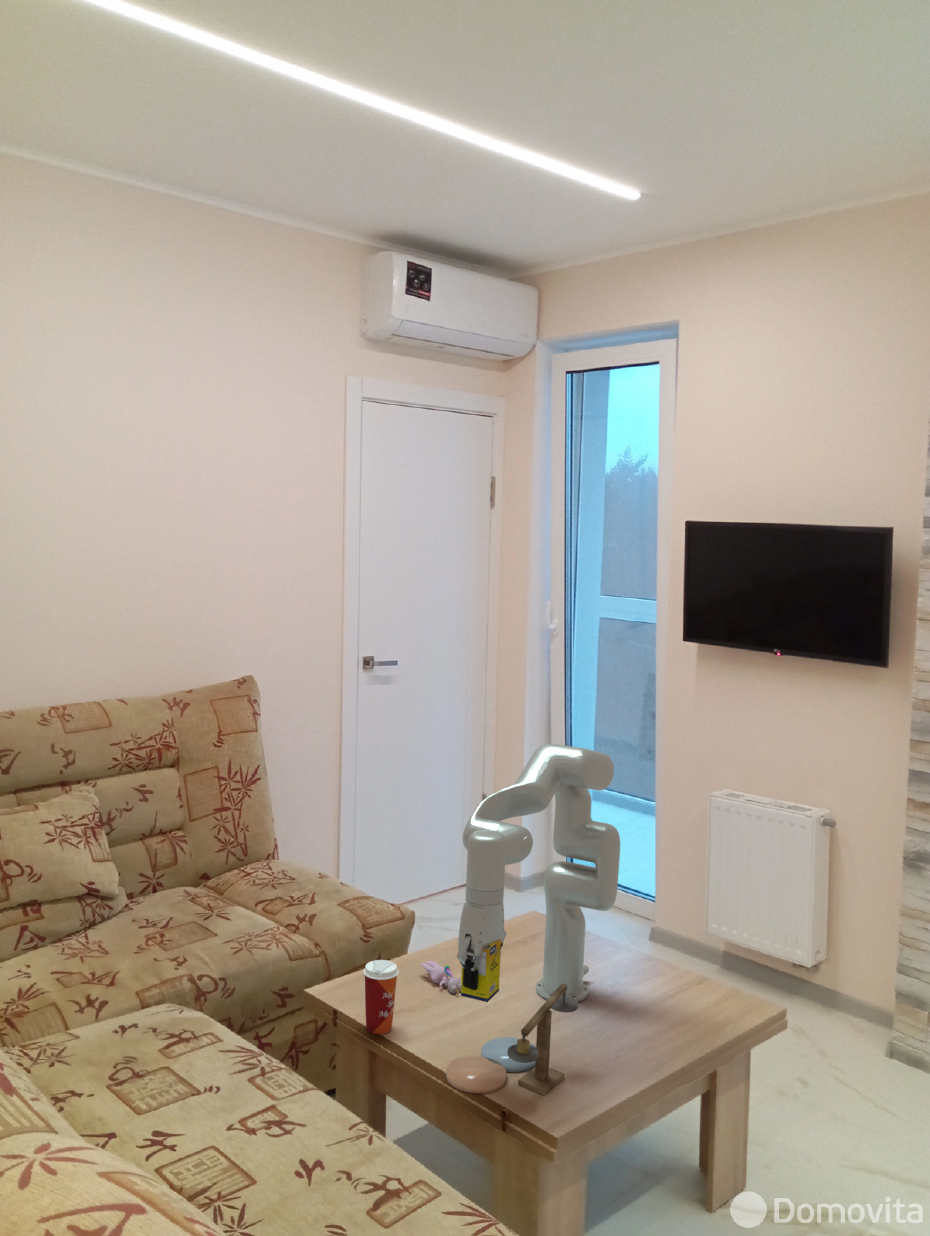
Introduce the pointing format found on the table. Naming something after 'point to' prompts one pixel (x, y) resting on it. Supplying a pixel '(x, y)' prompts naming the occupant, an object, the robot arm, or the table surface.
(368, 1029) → the paper cup
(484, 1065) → the peach flat disc
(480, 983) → the supplement box
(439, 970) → the lilac plush figure
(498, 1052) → the blue-grey flat disc
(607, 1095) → the table surface
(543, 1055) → the balance
